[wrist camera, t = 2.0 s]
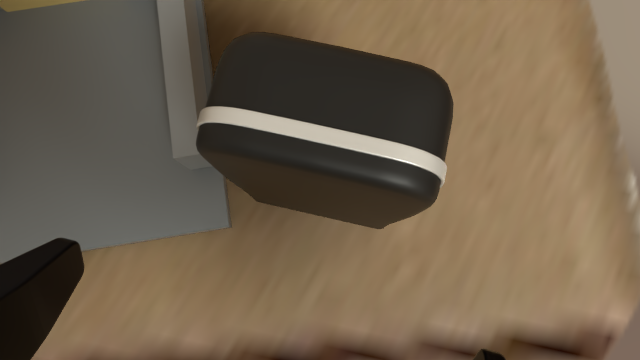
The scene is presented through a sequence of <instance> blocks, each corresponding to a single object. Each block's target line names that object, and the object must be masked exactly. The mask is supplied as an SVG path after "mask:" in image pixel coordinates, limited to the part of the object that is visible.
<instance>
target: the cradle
mask: <svg viewBox="0 0 640 360" xmlns="http://www.w3.org/2000/svg"><path fill="white" fill-rule="evenodd" d="M212 82H213V73H212V65H211V57H210V48H209V40H208V32H207V24H206V16H205V8H204V0H0V264H2V263H4V262H7V261H9V260H11V259H13V258H15V257H17V256H19V255H22V254H24V253H26V252H28V251H30V250H32V249H34V248H36V247H39V246H41V245H43V244H45V243H47V242H49V241H51V240H54V239H56V238H67V239H70V240H74V241H77V242H78V243H79V244H80V248H81V252H82V251H88V250H94V249H100V248H107V247H113V246H119V245H125V244H132V243H138V242H144V241H150V240H157V239H163V238H169V237H175V236H181V235H188V234H194V233H200V232H206V231H213V230H219V229H225V228H231V227H232V226H231V218H230V210H229V201H228V193H227V185H226V177H225V176H224V175H222V174H221V173H220V172H219V171H218V170H216V169H215V168H214V167H213V166H212V165H211V164H210V163H209V162H207V161H206V160H205V159H204V158H203V157H202V156H201V155H200V153H199V152H198V150H197V147H196V138H197V134H198V130H197V128H196V125H197V122H198V118H199V115H200V111H201V110H202V109H204V108H205V106H206V103H207V99H208V96H209V92H210V89H211V86H212Z"/></svg>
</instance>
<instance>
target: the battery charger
mask: <svg viewBox="0 0 640 360" xmlns="http://www.w3.org/2000/svg"><path fill="white" fill-rule="evenodd" d="M452 119H453V99H452V96H451V93H450V90H449V87H448V84H447V83H446V82H445V80H444V79H443V78H442V77H441V76H440V75H439V74H437V73H436V72H435V71H434V70H432V69H429V68H427V67H425V66H422V65H419V64H415V63H411V62H408V61H403V60H399V59H394V58H390V57H385V56H381V55H376V54H372V53H367V52H363V51H358V50H354V49H349V48H344V47H340V46H335V45H330V44H325V43H320V42H314V41H309V40H304V39H299V38H294V37H289V36H284V35H279V34H273V33H266V32H251V33H248V34H245V35H243V36H240V37H237V38H235V39H234V40H233V41H232V42H231V43H230V44H229V45H228V46H227V47H226V49H225V50H224V52H223V54H222V56H221V59H220V61H219V63H218V66H217V68H216V72H215V75H214V79H213V82H212V86H211V89H210V92H209V96H208V99H207V103H206V106H205V108H204V109H202V110H201V111H200V115H199V118H198V122H197V125H196V128H197V130H198V134H197V138H196V147H197V150H198V152H199V153H200V155H201V156H202V157H203V158H204V159H205V160H206V161H207V162H209V163H210V164H211V165H212V166H213V167H214V168H215V169H216V170H218V171H219V172H220V173H221V174H222V175H224V176H225V177H226V178H228V179H229V180H230V181H232V182H233V183H234V184H236V185H237V186H238V187H240V188H241V189H243V190H244V191H246V192H247V193H248V194H249V195H250V196H252V197H253V198H254V199H255V200H256V201H258V202H262V203H266V204H270V205H275V206H279V207H283V208H288V209H292V210H296V211H301V212H305V213H309V214H314V215H318V216H323V217H327V218H331V219H336V220H340V221H345V222H349V223H353V224H358V225H362V226H367V227H371V228H376V229H382V228H384V227H385V226H387V225H389V224H391V223H394V222H397V221H400V220H403V219H406V218H409V217H411V216H414V215H416V214H418V213H420V212H422V211H424V210H425V209H427V208H429V207H430V206H431V205H432V204H433V203H434V202H435V200H436V199H437V196H438V193H439V189H440V188H441V187H442V185H443V184H444V181H445V176H446V170H447V166H446V164H445V163H444V162H445V157H446V151H447V146H448V140H449V135H450V129H451V124H452Z"/></svg>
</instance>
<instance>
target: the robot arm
mask: <svg viewBox="0 0 640 360" xmlns="http://www.w3.org/2000/svg"><path fill="white" fill-rule="evenodd" d="M83 272H84V262H83V257H82V252H81V248H80V244H79V243H78V242H77V241H74V240H70V239H67V238H56V239H54V240H51V241H49V242H47V243H45V244H43V245H41V246H39V247H36V248H34V249H32V250H30V251H28V252H26V253H24V254H22V255H19V256H17V257H15V258H13V259H11V260H9V261H7V262H4V263H2V264H0V360H31V358H32V357H33V356H34V354H35V353H36V351H37V350H38V349H39V347H40V346H41V344H42V343H43V341H44V340H45V339H46V337H47V335H48V334H49V332H50V331H51V329H52V327H53V326H54V324H55V322H56V320H57V319H58V317H59V315H60V314H61V312H62V310H63V308H64V307H65V305H66V303H67V301H68V300H69V298H70V296H71V295H72V293H73V291H74V289H75V288H76V286H77V284H78V282H79V281H80V279H81V277H82V275H83ZM473 360H506V359H505V358H504V356H503V355H502V354H501V353H499V352H496V351H492V350H488V349H481V350H480V351H479V352H478V353H477V355H476V356H475V358H474V359H473Z"/></svg>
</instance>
